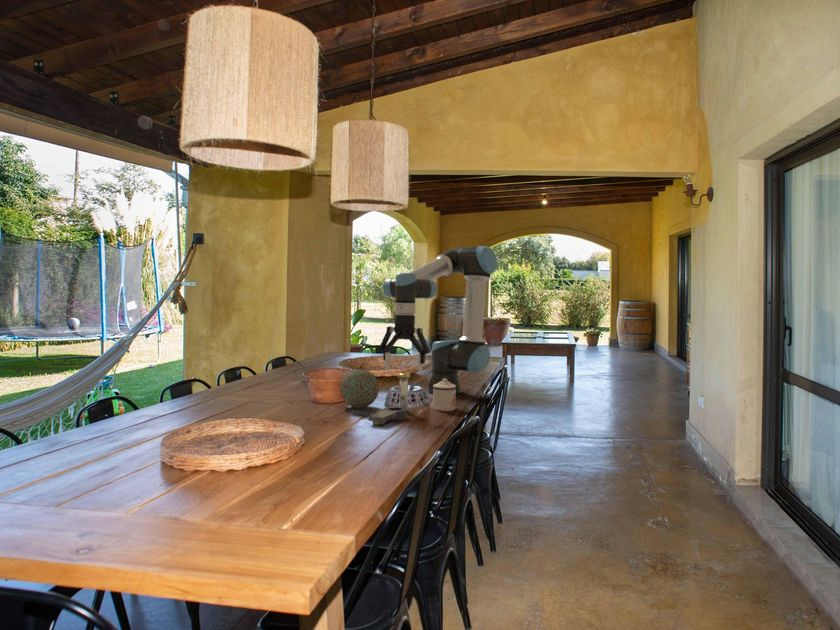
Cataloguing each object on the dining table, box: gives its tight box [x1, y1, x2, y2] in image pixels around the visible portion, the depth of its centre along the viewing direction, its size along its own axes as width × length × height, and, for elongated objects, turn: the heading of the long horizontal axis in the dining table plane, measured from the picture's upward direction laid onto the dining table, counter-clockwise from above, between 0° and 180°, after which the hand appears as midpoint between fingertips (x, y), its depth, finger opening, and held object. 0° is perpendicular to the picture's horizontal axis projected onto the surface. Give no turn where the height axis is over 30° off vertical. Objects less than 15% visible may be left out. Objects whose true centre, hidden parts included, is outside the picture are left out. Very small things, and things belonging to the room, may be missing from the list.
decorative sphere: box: [339, 368, 380, 409], centre depth 229 cm, size 15×15×15 cm
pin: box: [397, 372, 411, 411], centre depth 223 cm, size 5×5×14 cm
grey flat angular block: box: [351, 406, 408, 427], centre depth 211 cm, size 18×20×3 cm
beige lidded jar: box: [432, 379, 457, 412], centre depth 230 cm, size 12×9×12 cm
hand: (403, 371), depth 222 cm, fingers open, 13 cm apart
